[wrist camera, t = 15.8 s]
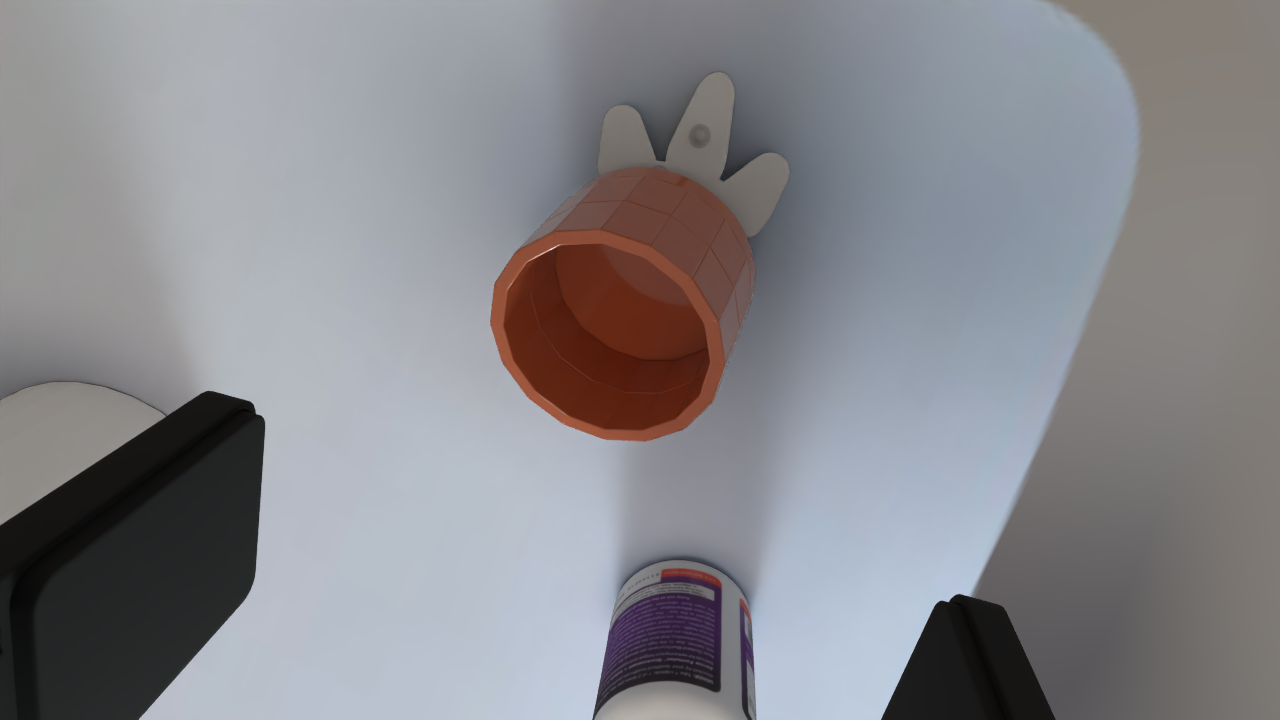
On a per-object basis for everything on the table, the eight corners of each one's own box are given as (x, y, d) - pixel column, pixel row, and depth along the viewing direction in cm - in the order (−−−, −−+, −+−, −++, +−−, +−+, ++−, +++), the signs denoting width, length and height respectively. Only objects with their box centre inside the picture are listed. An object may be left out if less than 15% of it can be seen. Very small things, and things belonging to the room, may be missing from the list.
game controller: (789, 69, 24) (796, 74, 22) (777, 416, 29) (782, 452, 26) (600, 75, 25) (587, 80, 23) (617, 414, 29) (607, 449, 27)
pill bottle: (586, 613, 33) (533, 833, 24) (676, 530, 31) (654, 735, 22) (688, 689, 34) (673, 929, 25) (780, 613, 32) (801, 843, 23)
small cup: (783, 206, 23) (753, 279, 19) (724, 383, 27) (690, 471, 23) (569, 138, 24) (503, 196, 20) (542, 319, 27) (481, 394, 24)
